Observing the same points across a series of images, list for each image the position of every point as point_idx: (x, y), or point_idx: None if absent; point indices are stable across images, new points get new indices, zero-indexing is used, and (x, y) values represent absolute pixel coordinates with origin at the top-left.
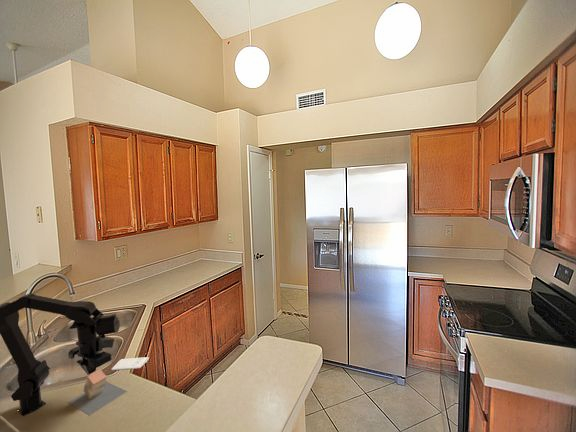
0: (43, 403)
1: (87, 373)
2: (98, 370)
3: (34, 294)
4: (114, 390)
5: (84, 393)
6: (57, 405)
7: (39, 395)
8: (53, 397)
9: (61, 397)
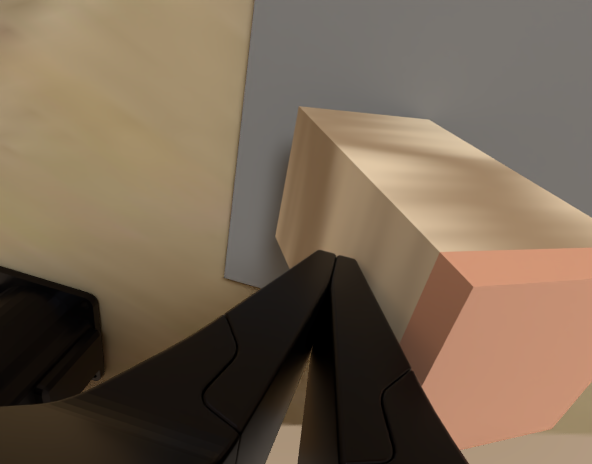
0: (75, 303)
1: (293, 389)
2: (474, 329)
3: None
4: (581, 65)
5: (246, 172)
6: (174, 290)
7: (32, 380)
8: (45, 229)
9: (99, 222)
